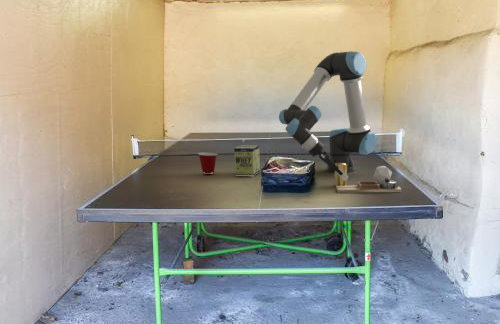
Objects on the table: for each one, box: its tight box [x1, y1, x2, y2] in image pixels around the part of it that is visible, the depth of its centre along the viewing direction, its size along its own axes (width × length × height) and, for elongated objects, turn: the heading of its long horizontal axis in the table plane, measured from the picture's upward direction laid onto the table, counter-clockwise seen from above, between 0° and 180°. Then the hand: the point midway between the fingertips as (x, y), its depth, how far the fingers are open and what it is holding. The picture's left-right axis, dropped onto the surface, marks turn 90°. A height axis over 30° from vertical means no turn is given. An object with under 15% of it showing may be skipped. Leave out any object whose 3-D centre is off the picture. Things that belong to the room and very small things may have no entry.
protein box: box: [233, 144, 261, 176], centre depth 294 cm, size 10×16×16 cm
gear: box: [377, 177, 399, 189], centre depth 245 cm, size 9×9×4 cm
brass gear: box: [334, 163, 348, 187], centre depth 255 cm, size 6×6×11 cm
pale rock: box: [372, 165, 393, 182], centre depth 262 cm, size 8×9×10 cm
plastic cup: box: [197, 152, 219, 173], centre depth 299 cm, size 11×11×12 cm
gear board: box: [335, 180, 403, 194], centre depth 246 cm, size 10×28×3 cm, turn 86°
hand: (345, 176), depth 255 cm, fingers open, 13 cm apart
